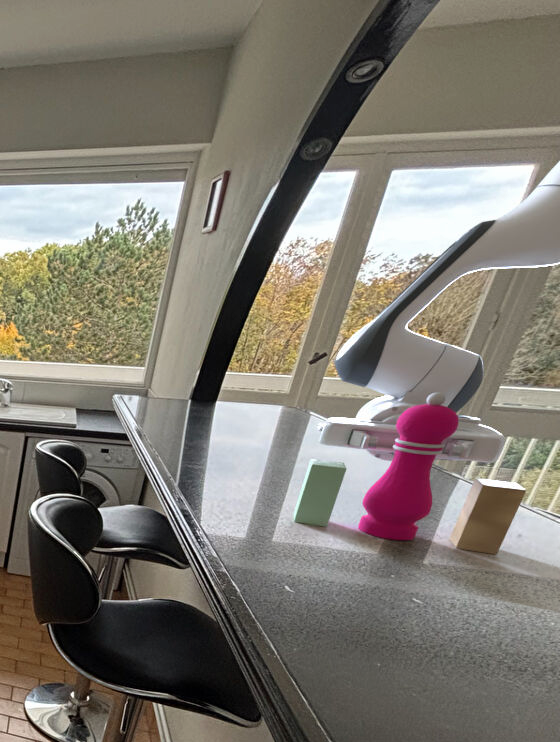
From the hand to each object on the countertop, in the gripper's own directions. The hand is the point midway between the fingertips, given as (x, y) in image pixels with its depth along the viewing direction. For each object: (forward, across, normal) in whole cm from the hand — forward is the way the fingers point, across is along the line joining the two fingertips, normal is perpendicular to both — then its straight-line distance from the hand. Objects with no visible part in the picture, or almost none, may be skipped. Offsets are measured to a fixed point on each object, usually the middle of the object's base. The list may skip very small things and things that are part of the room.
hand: (413, 448), depth 83 cm
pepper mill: (+3, 0, +12) cm, 13 cm away
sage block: (+3, -9, +12) cm, 15 cm away
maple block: (+3, +9, +12) cm, 15 cm away
